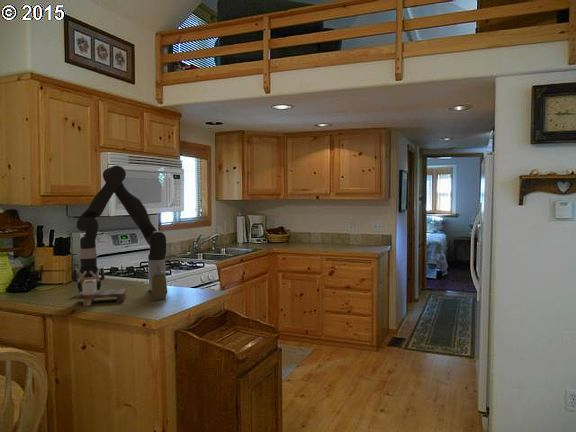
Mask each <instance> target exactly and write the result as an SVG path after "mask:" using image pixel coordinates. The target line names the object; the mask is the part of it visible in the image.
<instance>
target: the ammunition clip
mask: <svg viewBox="0 0 576 432" xmlns="http://www.w3.org/2000/svg"><path fill="white" fill-rule="evenodd" d="M78 274H79V275H78V279H79V278H80V277H81V275H82V274H81V273H80V272H79V273H78ZM96 274H97V275H98V276H99V271H97V273H96ZM99 277H100V276H99ZM95 279H96V278H94V276H93V277H86V278H85V277H83V279H82V280H81V290H79V289H78V294H79V293H80V292H81V291H82V283H83V282H84V281H85V280H95ZM96 286H97V279H96ZM97 290H101V287H100V288H99V289H98V288H97Z"/></svg>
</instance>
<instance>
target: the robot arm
mask: <svg viewBox="0 0 576 432" xmlns="http://www.w3.org/2000/svg"><path fill="white" fill-rule="evenodd" d="M126 175H127V173H126V169H124V167H123V166H121V165H113V166H110V167H107V168H106V169H104V170H103V173H102V178H103V181H104V182H105V184H104V185H103V186H102V188H101V189H100V190H99V191H98V192H97V194H95V196H94V197H93V199H92V201H91V202H90V204H89V205H88V208H87V209H86V210H85V211H84V212H83V213H82V214H80V216H79V217H78V219H77V221H76V228H77V230H78V231H80V232H85V235H83V236H82V237H80V240H79V246H80V250H79V260H80V269H77V268H75V269H73V273H72V275H73V278H72V280H73V282H76V283H77V289H78V291H79V290H81V280H82V279H83V277H85V279H86V277H88V278H89V277H92V278H93V276H94V278H95V279H97V288H98V289H99V288H100V289H101V287H102V281H103V280H105V278H106V276H105V268H104V267H99V268H98V263H97V258H98V257H97V247H96V245H97V243H96V239H97V236H98V231H99V222H98V220H97V219H96V218H99V217H101V216H102V214H103V212H104V210H105V208H106V207H107V205H108V203H109V201H110V199H111V198H112V196H113V195H114V194H115V196H116V198H117V199H118V200H119V202H120V203H121V204H122V207H123V208H124V209H125V211H126V212H127V213H128V215H129V217H130V218H131V219H132V221H133V222H134V224H135V225H136V226H137V228H138V229H139V231H140V232H141V235H143V238H144V239H145V241H146V243H147V245H149V253H148V257H147V259H148V260H147V262H148V263H147V265H148V266H147V268H148V289H149V291H152V278H153V276H155V275H154V272H155V271H156V270H157V265H158V264H160V267H161V271H164V274H163V275H165V276H167V275H166V274H167V273H166V255H167V237H166V235H165V234H164V233H163V232H162V231H158V229H156V228H155V226H154V225H153V224H152V222H151V219H150V217H149V216H150V215H149V214H148V211H147V209H146V207H145V206H144V203H142V201H141V199H140V198H139V197H138V196H137V195H136V194H134V193H133V192H131V191H130V190H129V189H128V188H127V187H126V186H125V184H124V183H123V182H124V180H125V178H126ZM97 271H98V273H100V276H98V275H99V274H98V275H97V274H96V273H97ZM80 273H81V277H80V278H79V277H78V274H80Z"/></svg>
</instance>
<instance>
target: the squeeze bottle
mask: <svg viewBox="0 0 576 432" xmlns="http://www.w3.org/2000/svg"><path fill="white" fill-rule="evenodd" d="M163 274H164V271H161V267H160V264H158V265H157V270H156V271H155V272H154V275H155V276H153V278H152V290H150V291H151V296H152V299H153V300H154V301H163V300H166V297H167V294H168V286H167V278H166V276H167V275H166V276H165V275H163Z"/></svg>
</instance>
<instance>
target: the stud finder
mask: <svg viewBox="0 0 576 432" xmlns="http://www.w3.org/2000/svg"><path fill="white" fill-rule="evenodd" d="M96 291H97V286H96V278H95V280H86V279H85V281H84V282H83V283H82V293H83V295H94V293H95V292H96Z"/></svg>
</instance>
